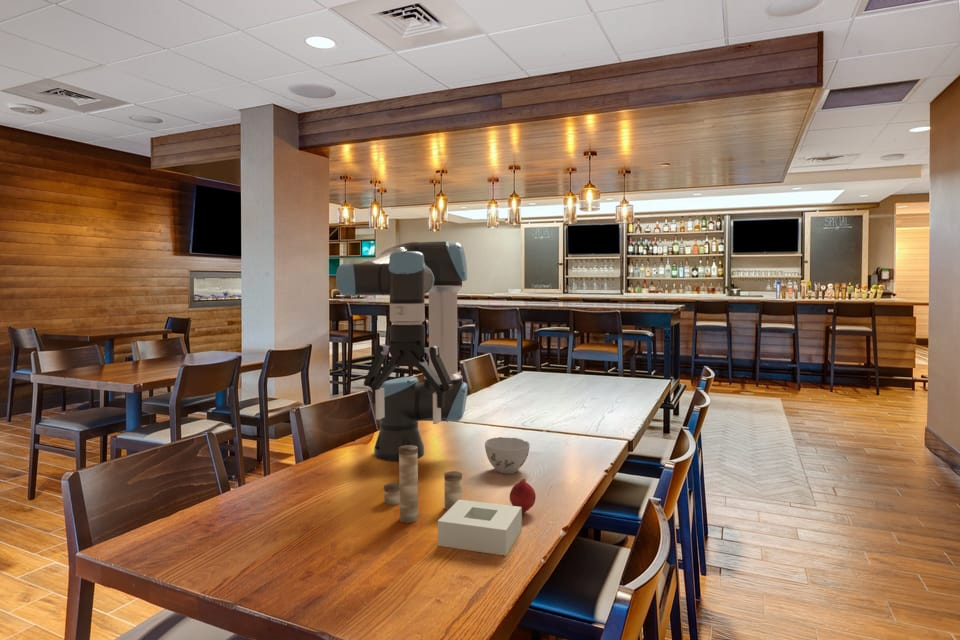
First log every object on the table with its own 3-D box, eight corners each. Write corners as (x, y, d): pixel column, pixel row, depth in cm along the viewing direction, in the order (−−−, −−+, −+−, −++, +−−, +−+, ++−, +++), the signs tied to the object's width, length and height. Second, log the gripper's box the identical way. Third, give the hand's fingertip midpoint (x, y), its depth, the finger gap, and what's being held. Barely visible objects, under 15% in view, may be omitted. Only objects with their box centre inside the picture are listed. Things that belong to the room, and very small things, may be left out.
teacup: (516, 481, 150) (516, 451, 149) (476, 473, 156) (475, 444, 156) (541, 466, 162) (541, 438, 162) (502, 459, 169) (502, 432, 168)
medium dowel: (441, 510, 130) (441, 475, 130) (448, 503, 134) (448, 470, 133) (458, 512, 129) (458, 477, 128) (464, 505, 133) (464, 472, 132)
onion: (528, 520, 124) (528, 484, 124) (505, 514, 127) (505, 479, 127) (539, 511, 129) (539, 476, 129) (517, 506, 132) (517, 472, 132)
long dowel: (396, 521, 124) (395, 449, 123) (404, 514, 128) (403, 444, 127) (413, 524, 122) (412, 451, 122) (421, 516, 126) (420, 446, 125)
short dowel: (381, 504, 134) (380, 487, 134) (389, 498, 138) (388, 482, 137) (396, 506, 132) (396, 489, 132) (404, 500, 136) (404, 483, 136)
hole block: (438, 545, 112) (437, 520, 112) (459, 521, 123) (458, 499, 123) (506, 555, 108) (506, 530, 107) (521, 530, 119) (521, 506, 119)
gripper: (347, 323, 123) (348, 420, 124) (455, 325, 115) (455, 428, 116) (364, 321, 130) (365, 413, 131) (467, 323, 122) (467, 420, 123)
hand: (408, 420), depth 124 cm, fingers open, 13 cm apart
